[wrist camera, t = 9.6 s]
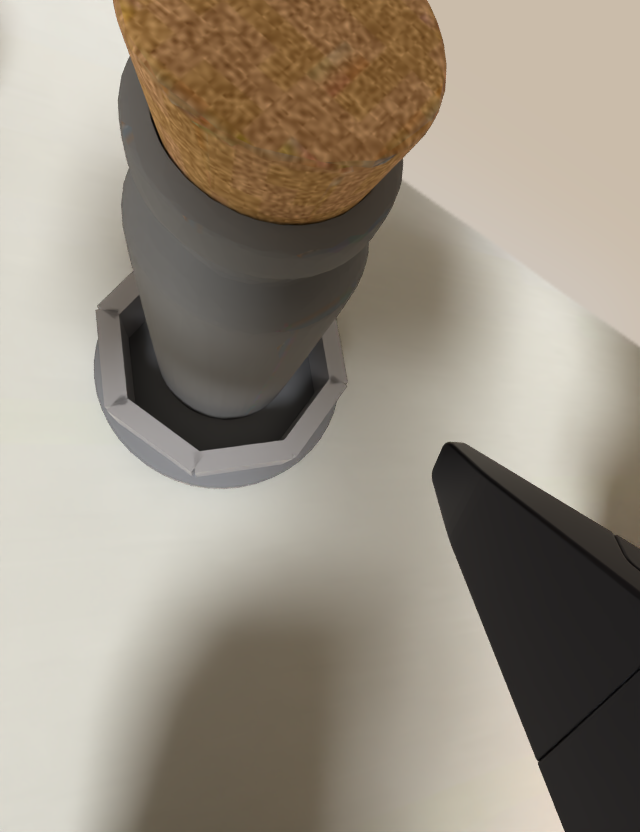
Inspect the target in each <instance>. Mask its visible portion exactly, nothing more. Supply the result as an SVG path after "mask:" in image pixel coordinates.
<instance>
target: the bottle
mask: <svg viewBox="0 0 640 832" xmlns="http://www.w3.org/2000/svg"><path fill="white" fill-rule="evenodd" d="M113 4H114V9H115V13H116V17H117V21H118V24H119V27H120V30H121V32H122V35H123V38H124V41H125V43H126V46H127V49H128V52H129V54H130V57H129V59H128V61H127V63H126V66H125V68H124V71H123V73H122V76H121V83H120V89H119V96H118V111H119V123H120V130H121V136H122V141H123V146H124V150H125V154H126V158H127V162H128V166H129V169H128V172H127V175H126V178H125V181H124V184H123V193H122V203H121V208H122V222H123V230H124V234H125V239H126V243H127V248H128V252H129V256H130V260H131V264H132V268H133V272H134V276H135V279H136V283H137V287H138V291H139V295H140V299H141V303H142V306H143V310H144V314H145V318H146V322H147V326H148V329H149V333H150V336H151V340H152V343H153V347H154V351H155V354H156V358H157V361H158V365H159V368H160V371H161V374H162V377H163V379H164V381H165V383H166V385H167V387H168V388H169V390H170V391H171V393H172V394H173V395H174V396H175V397H176V398H177V399H178V400H179V401H180V402H181V403H182V404H184V405H185V406H186V407H187V408H189V409H190V410H192V411H194V412H196V413H198V414H201V415H203V416H206V417H209V418H215V419H222V420H227V419H238V418H243V417H246V416H249V415H252V414H254V413H256V412H258V411H260V410H262V409H263V408H264V407H266V406H267V405H268V404H269V403H271V402H272V401H273V400H274V399H275V398H276V396H277V395H278V394H279V393H280V392H281V390H282V389H283V388H284V386H285V385H286V384H287V383H288V381H289V380H290V379H291V377H292V376H293V375H294V373H295V372H296V371H297V369H298V368H299V367H300V365H301V364H302V363H303V361H304V360H305V359H306V357H307V356H308V355H309V353H310V352H311V351H312V349H313V348H314V347H315V345H316V344H317V343H318V341H319V340H320V339H321V337H322V336H323V335H324V333H325V332H326V331H327V329H328V328H329V327H330V325H331V324H332V323H333V321H334V320H335V318H336V317H337V316H338V314H339V313H340V311H341V310H342V308H343V307H344V305H345V304H346V302H347V301H348V299H349V298H350V296H351V295H352V293H353V292H354V290H355V289H356V287H357V285H358V283H359V281H360V278H361V276H362V274H363V271H364V267H365V264H366V261H367V256H368V245H369V241H370V240H371V239H372V237H373V236H374V234H375V233H376V232H377V230H378V229H379V227H380V226H381V224H382V223H383V221H384V220H385V219H386V217H387V215H388V213H389V212H390V210H391V208H392V206H393V204H394V201H395V199H396V196H397V194H398V191H399V189H400V185H401V181H402V170H403V157H404V156H405V155H406V154H407V153H408V152H409V151H410V150H411V149H412V148H413V147H414V146H415V144H417V143H418V142H419V141H420V139H421V138H422V137H423V136H424V135H425V134H426V132H427V131H428V129H429V128H430V126H431V125H432V123H433V121H434V119H435V118H436V116H437V114H438V112H439V108H440V105H441V102H442V99H443V95H444V92H445V83H446V58H445V50H444V44H443V39H442V36H441V32H440V30H439V26H438V23H437V20H436V18H435V16H434V14H433V11H432V9H431V7H430V5H429V3H428V1H427V0H113Z"/></svg>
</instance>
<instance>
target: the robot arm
mask: <svg viewBox="0 0 640 832" xmlns="http://www.w3.org/2000/svg"><path fill="white" fill-rule="evenodd" d="M432 481H433V485H434V488H435V492H436V496H437V499H438V503H439V506H440V510H441V513H442V517H443V521H444V524H445V528H446V531H447V534H448V537H449V540H450V543H451V546H452V548H453V551H454V553H455V556H456V559H457V561H458V564H459V566H460V569H461V571H462V574H463V576H464V579H465V581H466V584H467V586H468V589H469V591H470V594H471V596H472V599H473V601H474V604H475V606H476V609H477V611H478V614H479V616H480V619H481V621H482V624H483V626H484V629H485V631H486V634H487V636H488V639H489V642H490V644H491V647H492V649H493V652H494V654H495V657H496V659H497V662H498V664H499V667H500V669H501V672H502V674H503V677H504V679H505V682H506V684H507V687H508V689H509V692H510V694H511V697H512V699H513V702H514V704H515V707H516V709H517V712H518V714H519V717H520V719H521V722H522V724H523V727H524V730H525V732H526V735H527V737H528V740H529V742H530V745H531V747H532V750H533V752H534V755H535V757H536V759H537V761H539V762H538V765H539V768H540V770H541V773H542V776H543V778H544V781H545V783H546V786H547V788H548V791H549V793H550V796H551V798H552V801H553V803H554V806H555V808H556V811H557V813H558V816H559V818H560V821H561V823H562V826H563V828H564V831H565V832H640V549H639V548H638V547H636V546H634V545H633V544H631V543H629V542H628V541H626V540H624V539H623V538H621V537H619V536H618V535H614V534H613V533H612V532H611V531H609V530H608V529H606V528H604V527H603V526H601V525H599V524H598V523H596V522H594V521H593V520H591V519H589V518H588V517H586V516H584V515H583V514H581V513H579V512H578V511H576V510H575V509H573V508H571V507H570V506H568V505H566V504H565V503H563V502H561V501H560V500H558V499H556V498H555V497H553V496H551V495H550V494H548V493H546V492H545V491H543V490H541V489H540V488H538V487H536V486H535V485H533V484H531V483H530V482H528V481H527V480H525V479H523V478H522V477H520V476H518V475H517V474H515V473H513V472H512V471H510V470H508V469H507V468H505V467H503V466H502V465H500V464H498V463H497V462H495V461H493V460H492V459H490V458H488V457H487V456H485V455H484V454H482V453H480V452H479V451H477V450H475V449H474V448H472V447H470V446H469V445H467V444H465V443H461V442H447V443H445V444H444V445H443V447H442V449H441V452H440V454H439V456H438V459H437V461H436V463H435V465H434V468H433V471H432Z"/></svg>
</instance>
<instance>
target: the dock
mask: <svg viewBox="0 0 640 832" xmlns="http://www.w3.org/2000/svg"><path fill="white" fill-rule="evenodd" d="M97 307H98V309H99V310H96V320H97V331H98V341H97V344H96V350H95V358H94V379H95V385H96V392H97V396H98V399H99V402H100V405H101V408H102V411H103V413H104V415H105V417H106V419H107V421H108V423H109V425H110V426H111V428H112V429H113V431H114V432H115V434H116V435H117V437H118V438H119V440H120V441H121V442H122V443H123V444H124V445H125V446H126V447H127V448H128V449H129V450H130V452H132V453H133V454H134V455H135V456H136V457H138V458H139V459H140V460H141V461H142V462H144V463H145V464H146V465H147V466H149V467H151V468H152V469H154V470H155V471H157V472H159V473H160V474H162V475H164V476H167V477H169V478H171V479H173V480H175V481H178V482H182V483H185V484H188V485H191V486H197V487H203V488H214V489H228V488H238V487H244V486H248V485H252V484H256V483H259V482H262V481H264V480H267V479H270V478H272V477H275V476H276V475H278V474H280V473H282V472H284V471H286V470H288V469H289V468H290V467H292V466H293V465H295V464H296V463H297V462H299V461H300V460H301V459H302V458H303V457H304V456H305V455H306V454H308V453H309V452H310V451H311V450H312V448H313V447H314V446H315V445H316V443H317V442H318V441H319V440H320V438H321V437H322V435H323V433H324V432H325V430H326V428H327V427H328V425H329V422H330V420H331V418H332V415H333V413H334V409H335V406H336V402H337V400H338V398H339V397H340V395H341V394H342V393H343V391H344V390H345V388H346V387H347V386H346V384H347V383H348V380H347V375H346V369H345V364H344V358H343V353H342V347H341V342H340V336H339V331H338V325H337V320H336V318H335V320H334V321H333V323H332V324H331V325H330V327H329V328H328V329H327V331H326V332H325V333H324V335H323V336H322V337H321V339H320V340H319V341H318V343H317V344H316V345H315V347H314V348H313V349H312V351H311V352H310V353H309V355H308V356H307V357H306V359H305V360H304V361H303V363H302V364H301V365H300V367H299V368H298V369H297V371H296V372H295V373H294V375H293V376H292V377H291V379H290V380H289V381H288V383H287V384H286V385H285V386H284V388H283V389H282V390H281V392H280V393H279V394H278V395H277V396H276V398H275V399H274V400H273V401H272V402H271V403H269V404H268V405H267V406H266V407H264V408H263V409H262V410H260V411H258V412H256V413H254V414H252V415H249V416H246V417H243V418H238V419H227V420H222V419H215V418H209V417H206V416H203V415H201V414H198V413H196V412H194V411H192V410H190V409H189V408H187V407H186V406H185V405H184V404H182V403H181V402H180V401H179V400H178V399H177V398H176V397H175V396H174V395H173V394H172V393H171V391H170V390H169V388H168V387H167V385H166V383H165V381H164V379H163V377H162V374H161V371H160V368H159V365H158V361H157V358H156V354H155V351H154V347H153V343H152V340H151V336H150V333H149V329H148V326H147V322H146V318H145V314H144V310H143V306H142V303H141V299H140V295H139V291H138V287H137V283H136V279H135V276H134V272H132V273H131V274H130V275H129V276H128V277H127V278H126V279H124V280H123V281H122V282H121V283H120V284H119V285H118V286H117V287H116V288H115V289H114V290H113V291H112V292H111V293H110V294H109V295H108V296H107V297H106V298H105V299H104V300H103V301H102V302H101V303H100V304H98V305H97Z"/></svg>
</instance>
